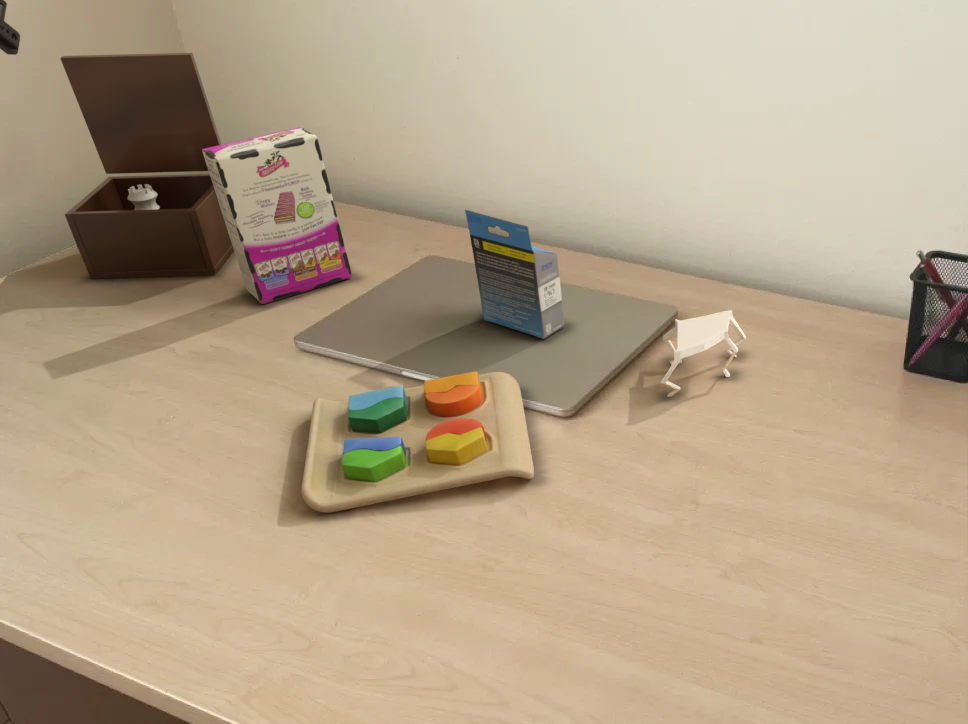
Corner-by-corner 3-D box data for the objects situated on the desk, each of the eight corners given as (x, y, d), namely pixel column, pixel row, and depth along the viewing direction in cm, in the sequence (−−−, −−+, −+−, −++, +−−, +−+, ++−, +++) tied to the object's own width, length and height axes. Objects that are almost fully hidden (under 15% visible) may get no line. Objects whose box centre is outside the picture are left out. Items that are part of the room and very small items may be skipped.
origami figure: (672, 344, 110) (670, 300, 107) (750, 353, 108) (750, 309, 105) (635, 401, 101) (632, 355, 98) (720, 412, 99) (719, 366, 96)
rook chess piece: (190, 250, 129) (168, 185, 124) (158, 263, 126) (134, 197, 121) (166, 243, 131) (144, 179, 126) (134, 256, 128) (110, 190, 123)
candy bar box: (336, 265, 127) (301, 124, 117) (354, 278, 124) (320, 135, 114) (243, 292, 121) (199, 146, 111) (260, 306, 118) (215, 158, 108)
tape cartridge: (567, 326, 114) (555, 214, 106) (543, 341, 111) (529, 227, 103) (505, 307, 117) (489, 197, 110) (481, 320, 115) (463, 209, 107)
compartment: (215, 275, 125) (195, 210, 120) (90, 279, 125) (64, 214, 120) (247, 234, 135) (229, 173, 130) (131, 237, 135) (108, 176, 130)
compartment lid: (190, 54, 121) (203, 41, 125) (59, 57, 120) (77, 44, 124) (227, 170, 130) (239, 154, 133) (106, 174, 129) (121, 158, 133)
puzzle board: (319, 411, 100) (310, 379, 98) (520, 387, 103) (515, 355, 101) (304, 518, 87) (294, 483, 85) (536, 486, 90) (531, 452, 88)
